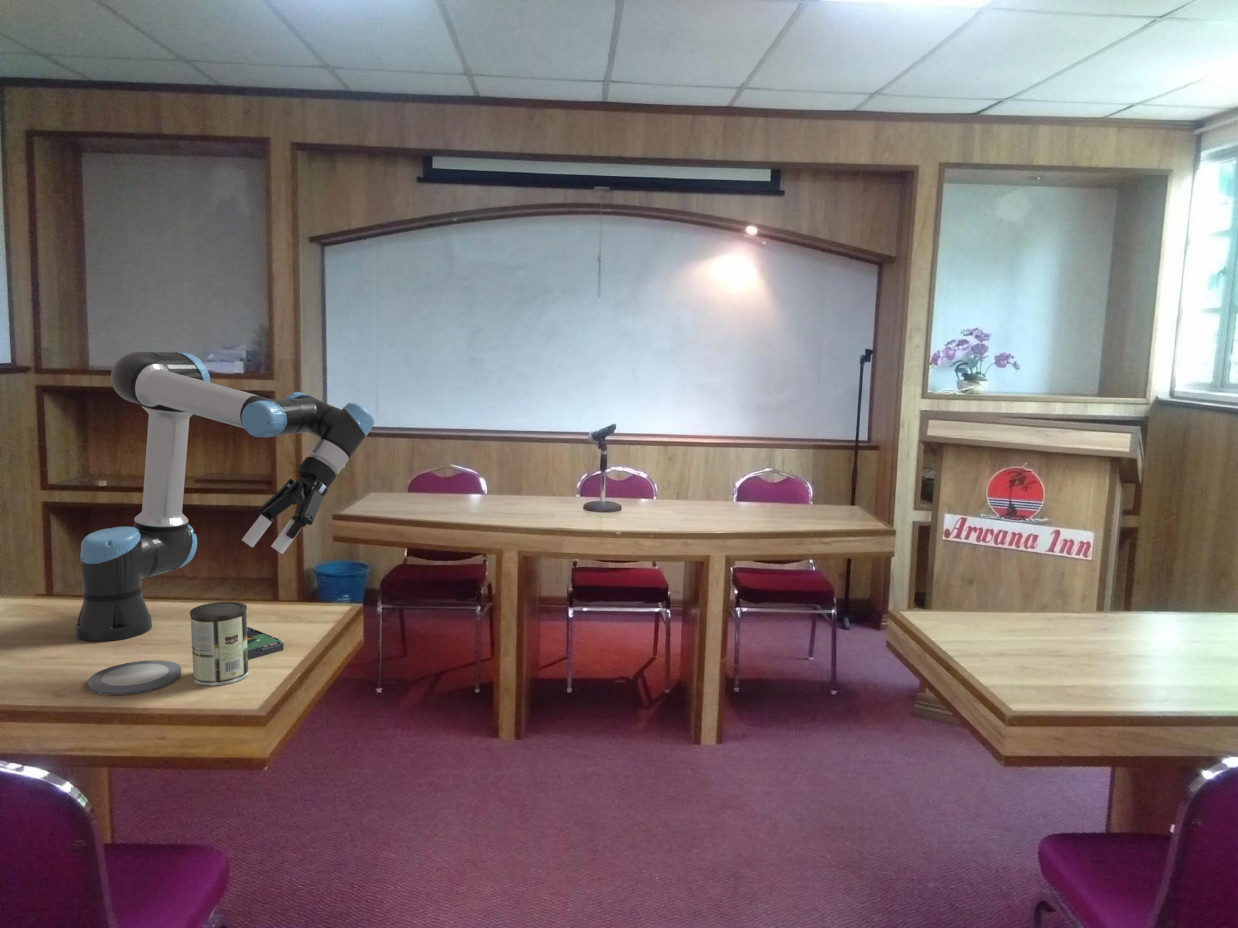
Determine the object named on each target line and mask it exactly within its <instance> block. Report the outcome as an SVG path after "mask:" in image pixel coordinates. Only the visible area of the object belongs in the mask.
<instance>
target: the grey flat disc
mask: <svg viewBox="0 0 1238 928" xmlns="http://www.w3.org/2000/svg"><path fill="white" fill-rule="evenodd" d="M181 676H182V668H181V666H180V665H179V664H178V663H176V662H173V661H168V660H158V659H156V660H155V659H153V660H151V659H150V660H140V661H139V660H138V661H131V662H125V663H121V664H117V665H112V666H110V667H106V668H104V669H102V670H99V671H98V672H96V673H94V674H92V675H91V676H90V677H89V678H88V680H87V686H88V689H90V690H91V691H90V690H89V691H90V692H92V691H93V692H92V693H94V692H96V693H95V694H97V693H101V694H100V695H102V694H109V695H108V696H124V695H123V694H129V695H134V694H133V693H137V694H141V692H143V693H146V691H147V692H151V691H150V690H152V691H154V690H159V689H161V688H164V687H166V686H169V685H171V684H173V683H175V682H176V681H178V679H180V678H181ZM121 694H122V695H121Z"/></svg>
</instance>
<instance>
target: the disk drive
mask: <svg viewBox="0 0 1238 928" xmlns="http://www.w3.org/2000/svg"><path fill="white" fill-rule="evenodd" d="M284 647H285V646H284V643H283V642H282V640H281V639H279V638H277V637H274V636H273V635H270V634H267V633H265V632H263V631H260V630H258V629H255V628H253V627H250V626H248V627H247V648H248V661H250V660H253V659H257V658H261V657H263V656H268V655H270V654H271V655H272V654H275V653H278V652H282V651H284Z"/></svg>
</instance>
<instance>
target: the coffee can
mask: <svg viewBox="0 0 1238 928" xmlns="http://www.w3.org/2000/svg"><path fill="white" fill-rule="evenodd" d="M247 606H248V605H246V604H245V603H242V602H239V601H218V602H210V603H204V604H201V605H197V606H196V607H193V608H192V609H191V610H189V615H190V627H191V628H190V629H191V630H190V631H191V632H190V633H191V651H192V652H191V653H192V671H193V672H192V674H193V675H192V677H193V678H192V681H193V682H194V684H197V685H199V686H205V687H206V686H208V687H209V686H210V687H212V686H213V687H215V686H225V685H229V684H233V683H237V682H239V681H241V680H243V679H245V678H247V677H248V675H249V674H250V671H249V660H248V648H247V626H248V623H247V611H248V610H247V609H248V607H247Z"/></svg>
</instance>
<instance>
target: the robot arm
mask: <svg viewBox="0 0 1238 928" xmlns="http://www.w3.org/2000/svg"><path fill="white" fill-rule="evenodd" d="M110 381H111V385H112V388H113V389H114V391H115V392H116V393H117V394H118V395H119V397H121V398H122V399H124V400H126V401H128V402H130V403H134V404H137V405H138V404H139V405H141V408H142V409H143V410H144V411H145V412H146V413H147V414H148V420H147V421H148V423H147V435H146V437H147V438H146V450H145V451H146V453H145V462H144V477H143V478H144V480H143V481H144V482H143V493H142V507H141V508H142V510H141V512H140V513H138V515H136V516H135V517H134V519H133V526H115V527H114V526H113V527H112V528H111V527H109V528H103V529H100V530H95V531H94V532H91V533H89V534H88V535H87V534H86V536H85V537H83V539H82V541H81V543H80V555H79V559H80V564H81V565H80V566H81V567H80V569H81V581H82V598H83V599H82V605H81V608H80V612H79V614H78V619H77V622H76V623H75V636H76V638H78V639H79V640H83V641H87V642H88V641H89V642H104V641H105V642H107V641H116V640H122V639H123V640H124V639H128V638H132V637H136V636H139V635H142V634H145V633H146V632H148V631H150V630H151V629H152V628H153V622H152V621H153V620H152V619H153V618H152V615H151V614H150V613H149V610H148V607H147V604H146V602H145V599H144V597H143V590H142V589H143V588H142V585H143V584H142V580H143V579H148V578H150V577H151V578H152V577H154V576H157V575H158V576H159V575H161V574H165V573H171V572H174V571H177V570H178V569H180V568H184V566H186V565H187V564H189V563H190V562H191V561H192V560H193V559H194V557H195V555H196V552H197V548H198V537H197V534H196V533H194V531H195V530H194V528H193V527H192V525H190V524H189V518H188V517H187V516H186V515H185V514H183V504H184V492H185V480H186V465H187V453H188V440H189V429H190V418H191V417H192V416H198V417H203V418H206V419H210V420H213V421H216V422H220V423H224V424H228V425H231V426H234V427H237V428H242V429H244V430H245V431H246V432H247V433H248V434H249V435H250V436H252V437H256V438H268V439H269V438H273V437H279V436H287V435H293V434H295V435H296V434H304V433H309V434H311V435H315V436H316V437H319V438H320V439H319V440H317V442H316V444H314V446H313V447H312V449H311V450H310V451H309V452H308V456H306V457H305V458H304V460H303V461H302V462H301V463H300V465H299V466H298V468H297V473H298V474H299V478H298V479H297V480H296V481H295V480H294V479H293V478H289V479H288V481H287V482H285V484H284V485H283V487H281V488H280V489H279V490H278V491H277V492H276V493H275V494H274V495H272V496H271V497H270V498H269V499H268V500H267V501H266V502H265V503H264V504H263V505H262V506H261V507H260V508H259V509H258V510H257V512H258V513H259V517H258V518H257V519H256V520H255V521H254V523H253V524H252V525H251V527H250V528H249V529H248V531H247V532H246V533H245V534H244V535H243V538H242V539H241V541H242V542H243V543H245V544H246V545H248V546H249V547H251V548H254V547H255V545H256V544H257V543H258V542H259V540H260V539H261V538H262V536H263V535H264V534H265V532H266V531H267V530H268V528H269V527H270V526H271V524H273V523H274V519H275V518H276V517H277V516H279V515H280V514H281V513H282V512H284V511H285V510H286V509H288V508H289V507H291V505H296V508H295V509H296V510H295V513H294V515H292V516H291V517H290V518H291V519H290V520H289V521H288V522H287V524H286V525H285V527H284V528H283V529H282V530H281V532H280V533H279V534H278V536H277V538H276V539H275V540H274V541H273V542H272V544H271V545H270V547H271V548H273V549H274V550H275V551H277V552H278V554H279V553H280V554H281V555H283V554H284V553H285V552H286V550H287V549H288V548H289V547H290V545H291V543H292V542H293V541H294V539H296V537H297V536H298V534H299V532H300V531H301V530H302V528H304V527H305V528H306V527H307V525H308V526H311V525H312V524H314V521H315V518H316V516H317V514H318V511H319V509H320V506H321V505H322V501H323V499H324V497H325V495H326V493H328V491H329V487H330V486H331V485H332V483H334V480H336V478H337V475H338V474H340V472H341V470H343V469H345V468H346V464H347V463H348V462H349V461H350V459H351V458H352V456H353V454H354V453H355V451H356V450H357V449H358V448H359V447H360V445H361V444H362V443H363V441H364V440H365V439H366V438H367V437H368V434H369V433H370V432H371V430H372V428H373V426H374V424H375V418H374V417H373V415H372V414H371V412H370V411H369V410H368V409H366V407H364V406H362V405H360V404H358V403H355V402H348V403H347V404H345V406H343V407H342V409H341V408H338V407H336V406H333V405H331V404H328V403H327V402H325V401H322V400H320V399H318V398H316V397H314V396H313V395H310V394H305V393H303V392H300V391H295V392H292V393H291V395H288V396H286V398H285V399H273V398H268V397H265V396H260V395H257V394H253V393H250V392H247V391H244V390H243V391H242V390H239V389H235V388H231V387H227V386H224V385H221V384H216V383H212V382H211V376H210V373H209V370H208V368H207V366H206V365H205V364H204V363H203V361H202V359H200V358H199V357H197V356H195V355H193V354H191V353H188V352H187V353H186V352H180V351H134V352H130V353H127V354H125V355H122V357H120V358H119V359H118V360H117V361H116V362H115V363H114V365H113V367H112V369H111V373H110Z"/></svg>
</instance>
